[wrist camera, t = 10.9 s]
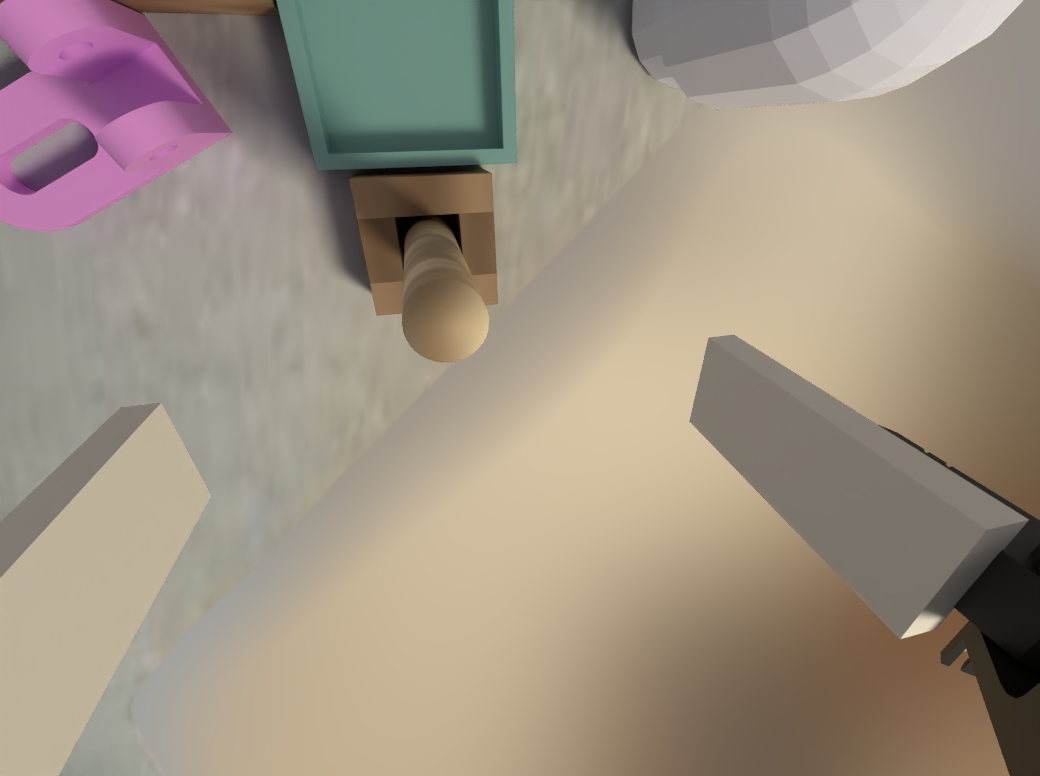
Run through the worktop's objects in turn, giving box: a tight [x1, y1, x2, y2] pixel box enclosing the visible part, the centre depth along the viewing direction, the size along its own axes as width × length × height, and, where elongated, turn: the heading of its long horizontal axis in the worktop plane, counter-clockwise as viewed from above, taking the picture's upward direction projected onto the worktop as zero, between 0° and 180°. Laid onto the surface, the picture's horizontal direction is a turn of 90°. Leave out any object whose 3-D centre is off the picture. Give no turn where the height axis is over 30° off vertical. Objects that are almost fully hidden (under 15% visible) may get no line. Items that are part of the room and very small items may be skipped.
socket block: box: [349, 169, 498, 316], centre depth 28 cm, size 8×8×4 cm
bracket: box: [0, 0, 232, 231], centre depth 20 cm, size 13×6×7 cm, turn 116°
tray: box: [276, 0, 517, 171], centre depth 23 cm, size 12×12×2 cm
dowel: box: [402, 215, 489, 362], centre depth 23 cm, size 3×3×16 cm
